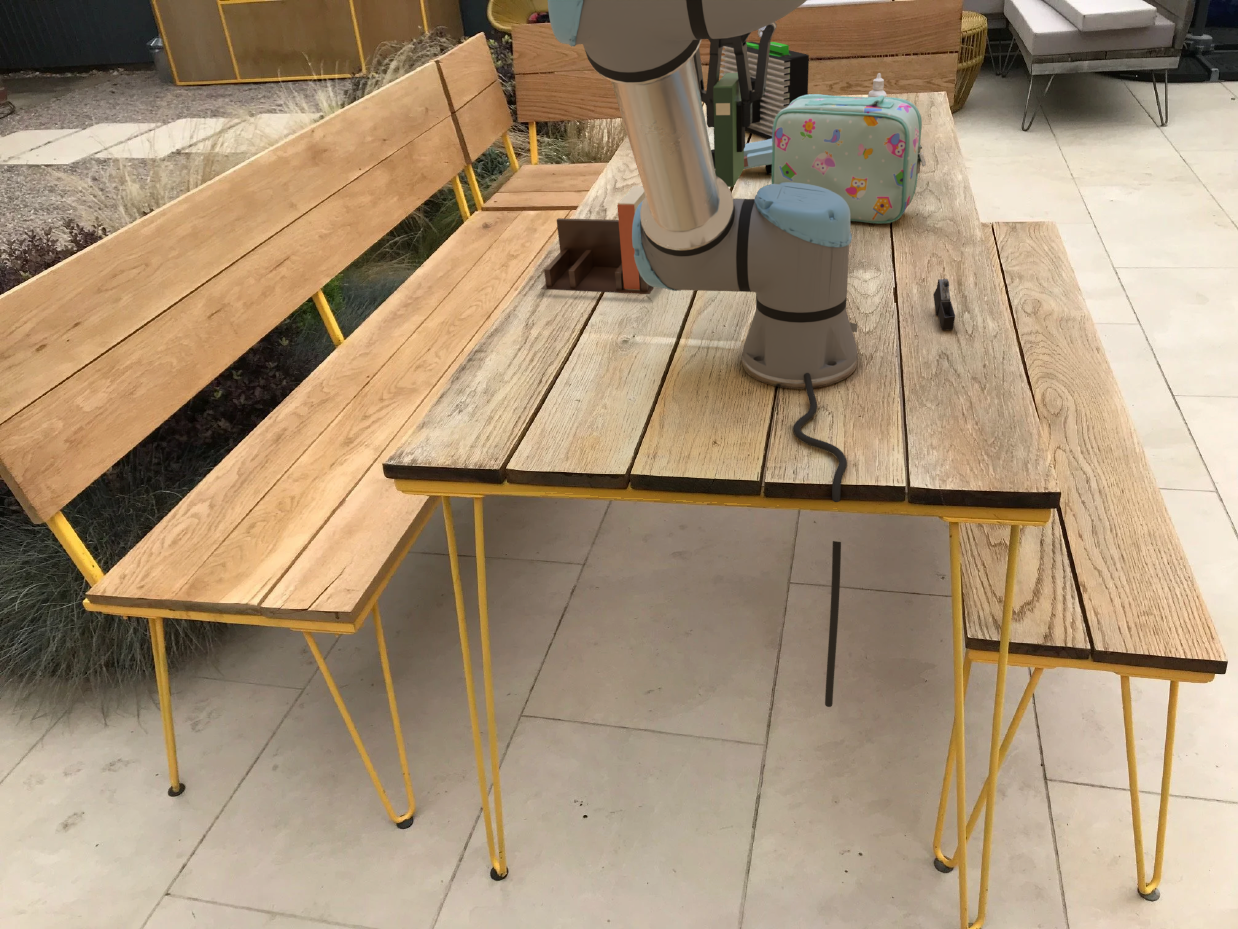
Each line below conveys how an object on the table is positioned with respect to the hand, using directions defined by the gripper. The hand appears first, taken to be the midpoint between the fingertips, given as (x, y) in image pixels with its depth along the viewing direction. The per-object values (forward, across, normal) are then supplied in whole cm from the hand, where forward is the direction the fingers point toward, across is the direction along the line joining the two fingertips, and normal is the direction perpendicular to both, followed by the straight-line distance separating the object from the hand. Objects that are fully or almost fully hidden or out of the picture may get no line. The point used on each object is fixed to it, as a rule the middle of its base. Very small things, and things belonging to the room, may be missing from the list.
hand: (729, 148), depth 140 cm
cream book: (+21, +15, +1) cm, 26 cm away
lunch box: (+22, -14, -36) cm, 44 cm away
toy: (+22, +8, -61) cm, 65 cm away
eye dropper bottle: (+22, -15, -97) cm, 100 cm away
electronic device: (+22, +12, -94) cm, 97 cm away
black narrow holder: (+22, -32, +8) cm, 40 cm away
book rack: (+22, +21, +1) cm, 30 cm away
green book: (+4, 0, 0) cm, 4 cm away
